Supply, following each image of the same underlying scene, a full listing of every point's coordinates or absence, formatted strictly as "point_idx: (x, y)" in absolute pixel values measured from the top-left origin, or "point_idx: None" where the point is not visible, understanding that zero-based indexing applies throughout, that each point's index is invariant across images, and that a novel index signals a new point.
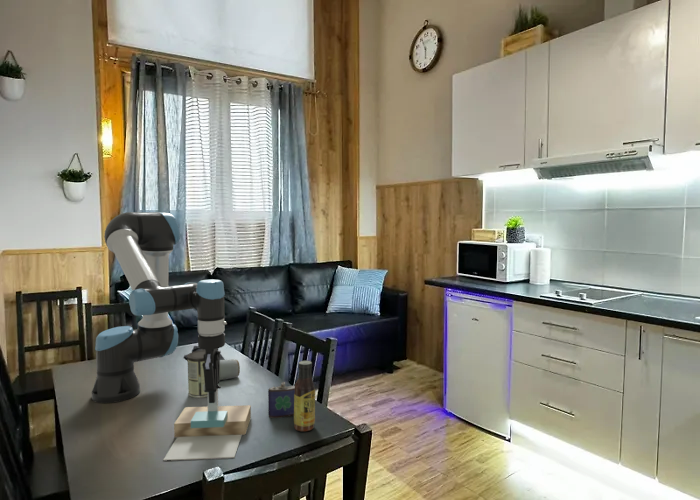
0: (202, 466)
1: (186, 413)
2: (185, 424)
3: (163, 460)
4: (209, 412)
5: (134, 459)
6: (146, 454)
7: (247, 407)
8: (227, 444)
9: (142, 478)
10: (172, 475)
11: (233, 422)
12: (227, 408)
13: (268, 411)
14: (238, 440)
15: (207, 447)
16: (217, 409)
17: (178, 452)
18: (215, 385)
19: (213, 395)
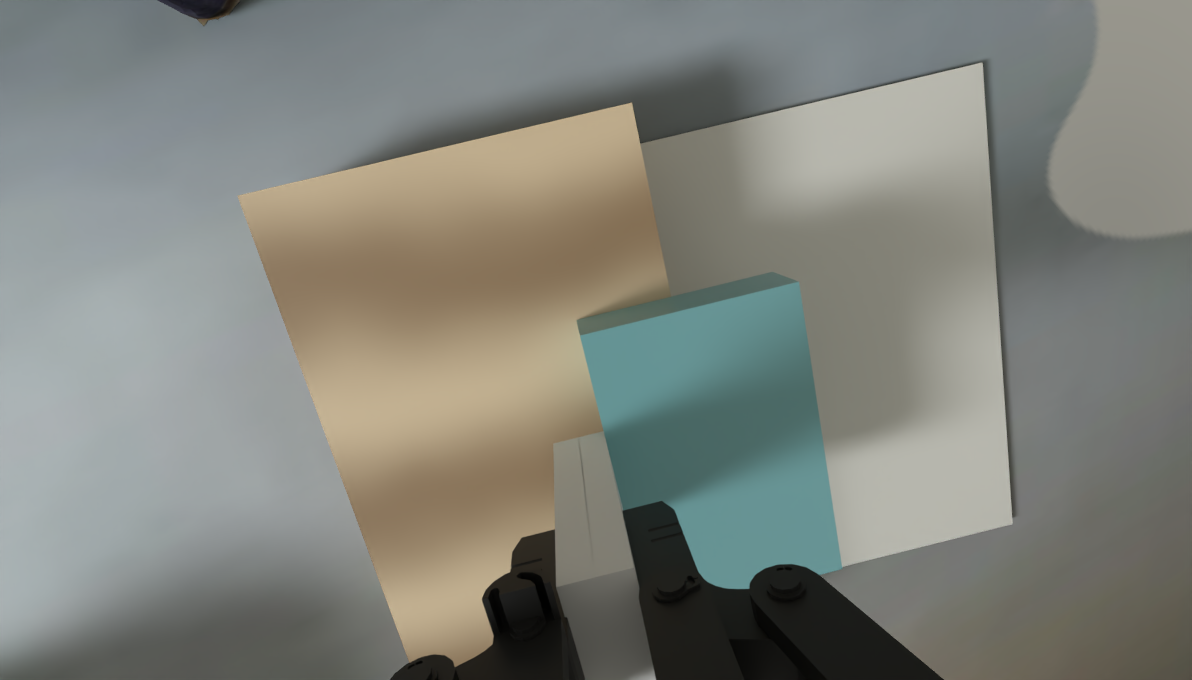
0: (1076, 249)
1: None
2: None
3: (1008, 520)
4: (647, 495)
5: (988, 676)
6: (935, 648)
7: (305, 209)
8: (806, 196)
9: (1179, 525)
10: (1164, 383)
11: (653, 223)
12: (381, 409)
13: (187, 9)
14: (738, 131)
15: (859, 326)
16: (592, 445)
17: (929, 482)
18: (710, 641)
19: (691, 559)
